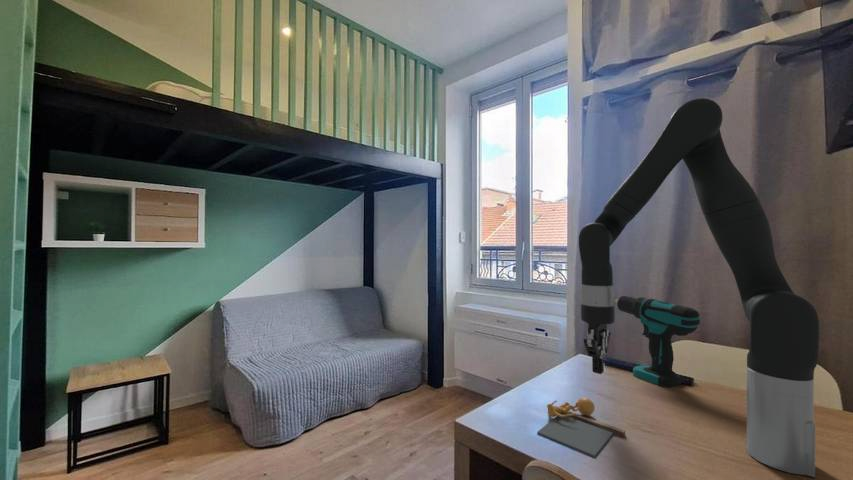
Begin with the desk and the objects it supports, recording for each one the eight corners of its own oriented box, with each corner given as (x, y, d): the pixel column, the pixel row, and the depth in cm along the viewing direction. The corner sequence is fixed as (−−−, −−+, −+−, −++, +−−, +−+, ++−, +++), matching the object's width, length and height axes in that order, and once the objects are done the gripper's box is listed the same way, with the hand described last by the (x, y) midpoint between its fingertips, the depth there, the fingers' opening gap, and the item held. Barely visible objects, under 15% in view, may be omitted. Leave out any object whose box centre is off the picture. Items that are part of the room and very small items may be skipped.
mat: (613, 434, 77) (613, 432, 77) (594, 457, 68) (594, 455, 68) (559, 415, 85) (559, 413, 85) (537, 433, 77) (537, 431, 77)
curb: (625, 435, 76) (625, 430, 76) (623, 437, 76) (623, 432, 76) (554, 410, 88) (554, 406, 88) (552, 411, 87) (552, 407, 87)
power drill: (604, 365, 121) (604, 293, 121) (621, 362, 124) (621, 292, 125) (686, 396, 97) (687, 306, 97) (705, 390, 101) (705, 304, 101)
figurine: (605, 406, 82) (559, 396, 80) (600, 432, 81) (554, 422, 79) (583, 393, 90) (541, 384, 88) (579, 417, 89) (537, 408, 87)
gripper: (604, 308, 79) (606, 384, 79) (621, 301, 89) (622, 369, 89) (571, 304, 85) (572, 375, 84) (590, 298, 94) (591, 362, 94)
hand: (598, 372), depth 86 cm, fingers closed
